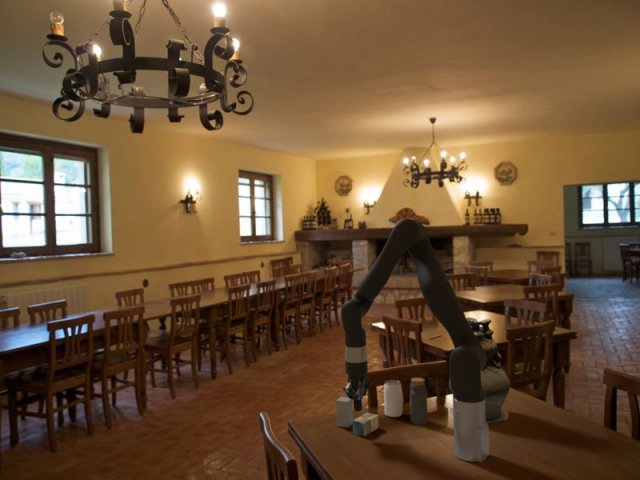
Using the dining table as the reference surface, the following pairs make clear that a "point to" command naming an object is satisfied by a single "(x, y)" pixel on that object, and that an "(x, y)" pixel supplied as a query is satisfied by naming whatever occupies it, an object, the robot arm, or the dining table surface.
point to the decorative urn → (490, 373)
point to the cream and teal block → (365, 424)
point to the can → (393, 398)
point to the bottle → (418, 402)
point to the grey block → (344, 412)
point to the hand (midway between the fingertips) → (358, 410)
